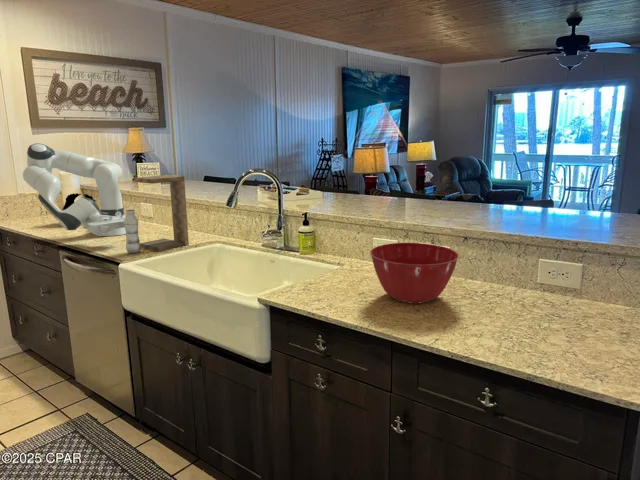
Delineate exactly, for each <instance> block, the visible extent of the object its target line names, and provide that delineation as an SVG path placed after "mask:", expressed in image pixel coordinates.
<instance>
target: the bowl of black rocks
mask: <svg viewBox="0 0 640 480" xmlns="http://www.w3.org/2000/svg"><path fill="white" fill-rule="evenodd" d="M81 195H82V193H77V192H76V193H70V194H68V195H67V196H66V197H65V203H64V205H63V208H62V211H63V210H66V209H67V208H68V207H70V206H71V205H72V204H73V203H75V202H76V199H77V198H78V197H79V196H81ZM83 197H86V198H89V199H91V200H93V201H94V202H95V203H96V200H95V199H94V197H93V196H91V195H88V194H86V193H84V194H83Z"/></svg>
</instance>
